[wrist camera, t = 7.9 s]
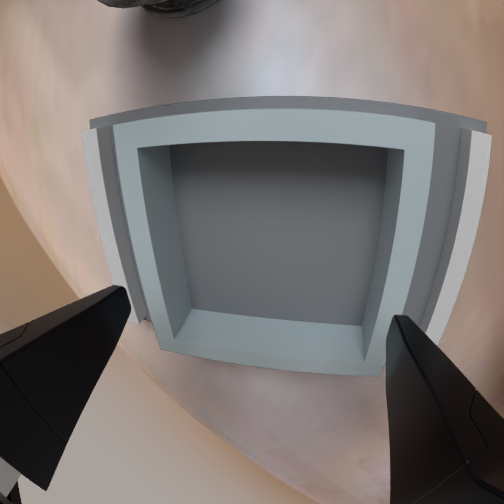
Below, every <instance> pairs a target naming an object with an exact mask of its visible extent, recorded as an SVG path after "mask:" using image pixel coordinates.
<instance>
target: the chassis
mask: <svg viewBox="0 0 504 504" xmlns="http://www.w3.org/2000/svg"><path fill="white" fill-rule="evenodd" d="M486 125H487V122H484V121H481V120H477V119H473V118H469V117H465V116H461V115H456V114H452V113H447V112H443V111H438V110H432V109H427V108H422V107H416V106H409V105H403V104H396V103H388V102H380V101H371V100H361V99H349V98H335V97H312V96H260V97H238V98H223V99H211V100H200V101H191V102H183V103H175V104H168V105H161V106H155V107H149V108H143V109H137V110H132V111H127V112H122V113H117V114H112V115H108V116H103V117H99V118H95V119H91V120H90V130H85V131H81V132H82V140H83V148H84V155H85V162H86V168H87V174H88V180H89V185H90V191H91V196H92V201H93V206H94V211H95V215H96V220H97V224H98V229H99V233H100V237H101V241H102V245H103V249H104V253H105V256H106V260H107V264H108V267H109V271H110V274H111V277H112V281H113V284H114V285H119V286H123V287H125V289H126V291H127V294H128V297H129V300H130V304H131V313H130V316H129V318H128V320H127V322H130V323H135V324H140V323H141V321H142V320H143V319H144V320H149V321H152V323H153V326H154V330H155V333H156V336H157V339H158V342H159V346H160V349H161V350H166V351H170V352H175V353H180V354H185V355H190V356H195V357H200V358H205V359H211V360H217V361H222V362H229V363H235V364H241V365H248V366H255V367H263V368H271V369H279V370H288V371H297V372H308V373H320V374H334V375H351V376H380V375H381V373H382V370H383V368H384V365H385V362H386V337H387V333H388V330H389V327H390V323H391V320H392V317H393V316H394V315H396V314H397V315H407V316H409V317H410V318H411V319H412V320H413V321H414V322H415V323H416V324H417V325H418V326H419V327H420V328H421V330H422V331H423V332H424V333H425V334H426V335H427V336H428V337H429V338H430V339H431V340H432V341H433V342H434V343H435V344H436V345H438V343H439V341H440V339H441V336H442V334H443V332H444V329H445V327H446V324H447V322H448V320H449V317H450V314H451V312H452V309H453V307H454V304H455V301H456V298H457V296H458V293H459V290H460V287H461V284H462V281H463V278H464V275H465V272H466V268H467V265H468V262H469V258H470V255H471V251H472V248H473V244H474V240H475V236H476V232H477V228H478V224H479V219H480V214H481V210H482V205H483V199H484V194H485V188H486V182H487V175H488V168H489V160H490V150H491V139H492V135H489V134H486Z"/></svg>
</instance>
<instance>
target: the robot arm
mask: <svg viewBox="0 0 504 504" xmlns="http://www.w3.org/2000/svg"><path fill="white" fill-rule="evenodd" d="M130 313H131V304H130V300H129V297H128V294H127V291H126V289H125V287H123V286H119V285H112V286H110V287H108V288H105V289H103V290H101V291H98V292H96V293H94V294H91V295H89V296H87V297H84V298H82V299H80V300H78V301H75V302H73V303H71V304H69V305H66V306H64V307H62V308H59V309H57V310H55V311H53V312H50V313H48V314H46V315H44V316H41V317H39V318H37V319H35V320H32V321H31V322H30V323H29V322H28V323H26V324H24V325H21V326H19V327H17V328H15V329H12V330H10V331H7V332H5V333H2V334H0V504H22V503H21V498H20V493H19V488H18V481H17V480H18V478H19V477H20V475H21V474H22V475H24V476H25V477H26V478H28V479H29V480H30V481H32V482H33V483H35V484H36V485H38V486H39V487H40V488H42V489H43V490H45V491H47V489H48V487H49V484H50V482H51V480H52V477H53V475H54V473H55V470H56V468H57V466H58V463H59V461H60V458H61V456H62V454H63V452H64V449H65V447H66V444H67V443H68V441H69V438H70V436H71V434H72V432H73V429H74V428H75V426H76V423H77V421H78V419H79V417H80V415H81V413H82V411H83V409H84V407H85V405H86V403H87V401H88V399H89V397H90V395H91V393H92V391H93V389H94V387H95V385H96V383H97V381H98V380H99V378H100V376H101V374H102V372H103V370H104V368H105V366H106V364H107V363H108V361H109V359H110V357H111V355H112V353H113V351H114V350H115V347H116V345H117V343H118V341H119V338H120V336H121V334H122V332H123V329H124V327H125V325H126V322H127V320H128V318H129V316H130ZM475 390H476V388H475V387H474V386H473V385H472V383H471V382H470V381H469V380H468V379H467V378H466V377H465V376H464V374H463V373H462V372H461V371H460V370H459V369H458V368H457V367H456V366H455V365H454V363H453V362H452V361H451V360H450V359H449V358H448V357H447V356H446V355H445V354H444V353H443V352H442V350H441V349H440V348H439V347H438V346H437V345H436V344H435V343H434V342H433V341H432V340H431V339H430V338H429V337H428V336H427V335H426V334H425V333H424V332H423V331H422V330H421V328H420V327H419V326H418V325H417V324H416V323H415V322H414V321H413V320H412V319H411V318H410V317H409V316H407V315H397V314H396V315H394V316H393V317H392V320H391V323H390V327H389V330H388V333H387V337H386V398H387V409H388V423H389V441H390V504H504V419H503V418H502V417H501V416H500V415H499V414H498V413H497V412H496V411H495V410H494V408H493V407H492V406H491V405H490V404H489V403H488V402H487V401H486V399H485V398H484V397H483V396H482V395H481V394H480V393H479V391H478V390H476V391H475Z"/></svg>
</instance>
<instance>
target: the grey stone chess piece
mask: <svg viewBox="0 0 504 504" xmlns="http://www.w3.org/2000/svg"><path fill="white" fill-rule="evenodd" d="M98 1H99V2H101V3H103V4H105V5H107V6H109V7H116V8H130V7H137V6H142V7H143V8H144V9H145V10H146V11H148V12H150V13H152V14H154V15H156V16H161V17H165V18H176V17H183V16H187V15H191V14H195V13H197V12H199V11H201V10H203V9H205V8H208V7H209V6H210V5H212V4H213V3H215V2H216V1H217V0H98Z"/></svg>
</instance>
